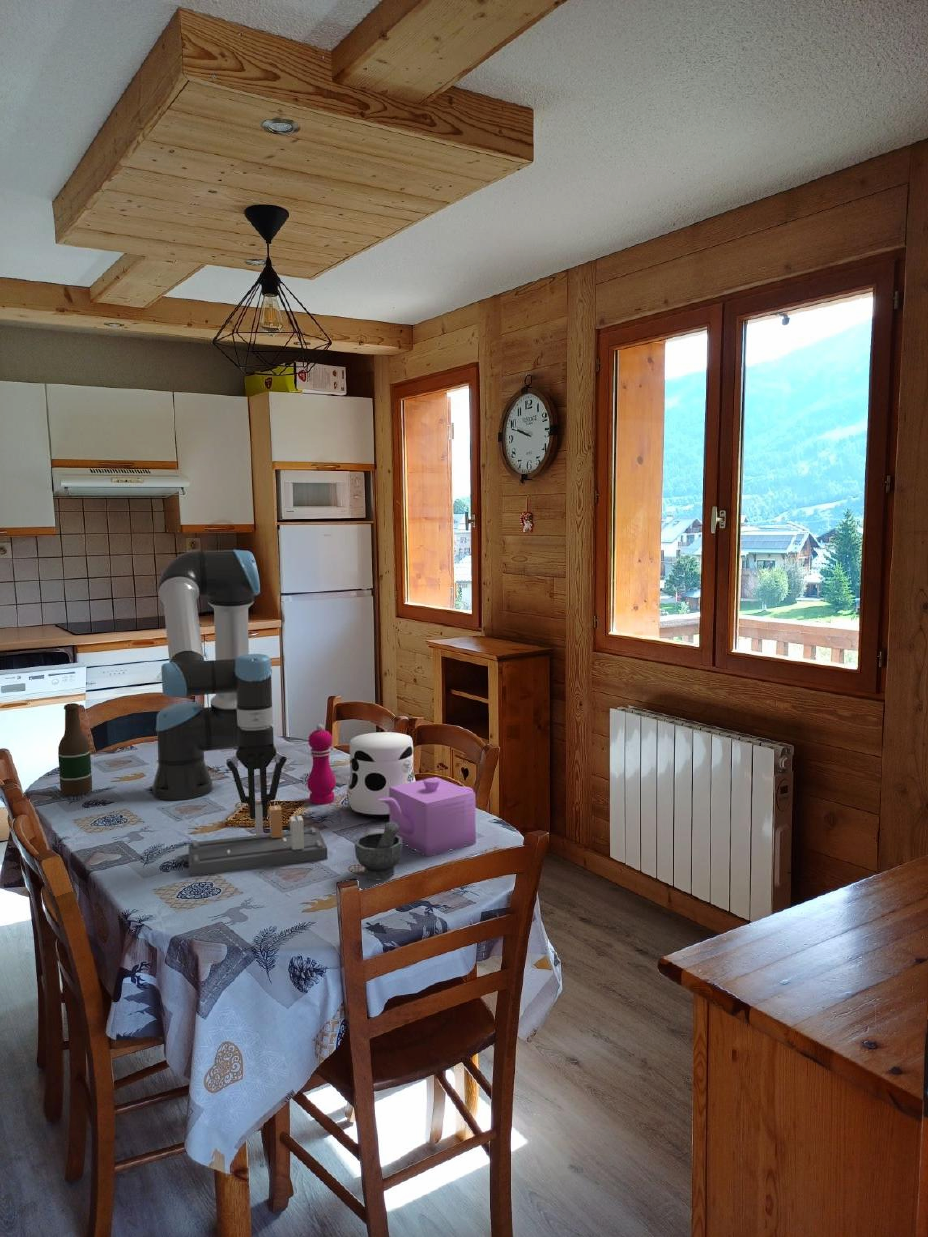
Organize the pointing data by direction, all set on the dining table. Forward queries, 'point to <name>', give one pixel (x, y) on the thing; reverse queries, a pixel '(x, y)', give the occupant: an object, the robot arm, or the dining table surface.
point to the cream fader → (297, 832)
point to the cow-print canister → (378, 770)
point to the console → (253, 852)
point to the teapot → (433, 815)
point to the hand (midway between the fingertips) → (259, 832)
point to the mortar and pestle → (379, 852)
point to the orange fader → (275, 821)
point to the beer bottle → (74, 756)
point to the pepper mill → (321, 768)
